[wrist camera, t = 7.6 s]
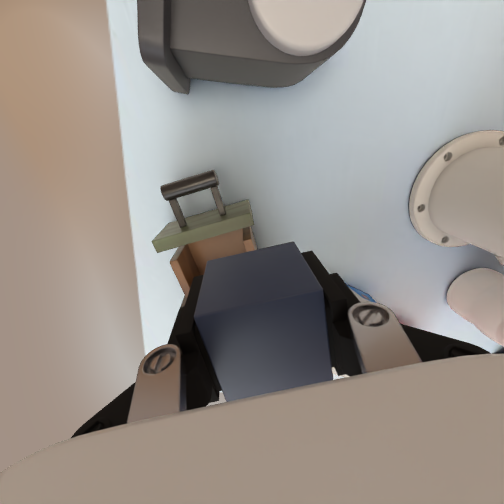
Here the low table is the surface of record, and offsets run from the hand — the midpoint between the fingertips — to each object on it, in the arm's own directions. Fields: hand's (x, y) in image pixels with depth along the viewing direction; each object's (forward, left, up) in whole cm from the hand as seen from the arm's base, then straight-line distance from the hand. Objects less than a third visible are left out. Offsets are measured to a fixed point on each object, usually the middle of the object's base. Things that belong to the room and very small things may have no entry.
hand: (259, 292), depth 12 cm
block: (0, 0, 0) cm, 0 cm away
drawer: (0, +5, -17) cm, 17 cm away
